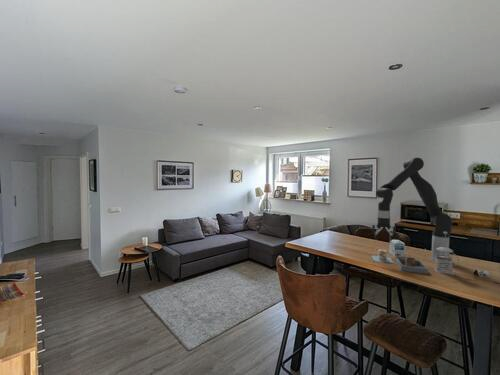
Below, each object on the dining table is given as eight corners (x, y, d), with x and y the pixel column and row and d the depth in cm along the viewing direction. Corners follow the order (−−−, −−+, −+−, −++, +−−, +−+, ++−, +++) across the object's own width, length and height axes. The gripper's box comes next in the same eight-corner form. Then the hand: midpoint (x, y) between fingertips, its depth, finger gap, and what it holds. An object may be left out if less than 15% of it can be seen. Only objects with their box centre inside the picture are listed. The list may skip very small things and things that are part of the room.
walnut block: (412, 265, 154) (413, 256, 154) (414, 267, 150) (415, 258, 150) (404, 264, 156) (404, 255, 155) (406, 266, 151) (406, 257, 151)
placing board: (390, 258, 168) (390, 257, 168) (393, 263, 157) (393, 263, 157) (371, 256, 173) (371, 255, 173) (373, 261, 162) (373, 260, 162)
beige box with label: (385, 258, 166) (385, 249, 166) (386, 260, 162) (386, 251, 162) (378, 257, 168) (378, 249, 168) (378, 259, 164) (379, 250, 163)
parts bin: (419, 265, 154) (420, 260, 154) (428, 274, 140) (428, 268, 140) (395, 262, 159) (396, 257, 159) (401, 271, 145) (401, 265, 145)
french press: (433, 267, 151) (435, 229, 150) (457, 272, 144) (459, 232, 143) (432, 272, 144) (435, 231, 143) (458, 277, 136) (460, 234, 135)
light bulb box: (404, 258, 169) (405, 243, 168) (394, 257, 170) (395, 242, 170) (398, 253, 179) (399, 239, 179) (388, 253, 181) (389, 239, 180)
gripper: (394, 216, 164) (393, 239, 165) (371, 215, 170) (371, 238, 170) (397, 218, 157) (396, 242, 158) (373, 217, 163) (372, 240, 163)
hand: (383, 240), depth 164 cm, fingers open, 8 cm apart
